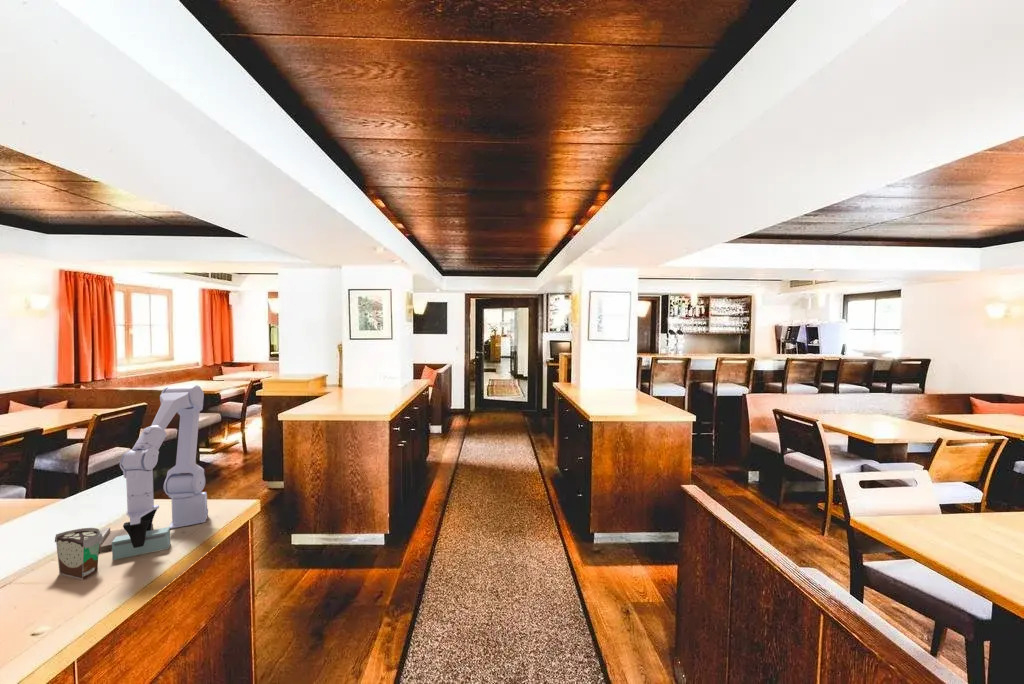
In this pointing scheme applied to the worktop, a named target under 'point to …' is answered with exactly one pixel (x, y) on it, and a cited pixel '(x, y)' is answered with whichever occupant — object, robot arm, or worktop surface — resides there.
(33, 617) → the worktop surface
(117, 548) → the glasses case
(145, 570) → the worktop surface
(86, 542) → the food container
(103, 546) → the display stand
